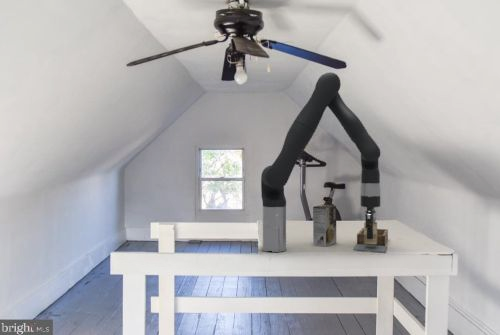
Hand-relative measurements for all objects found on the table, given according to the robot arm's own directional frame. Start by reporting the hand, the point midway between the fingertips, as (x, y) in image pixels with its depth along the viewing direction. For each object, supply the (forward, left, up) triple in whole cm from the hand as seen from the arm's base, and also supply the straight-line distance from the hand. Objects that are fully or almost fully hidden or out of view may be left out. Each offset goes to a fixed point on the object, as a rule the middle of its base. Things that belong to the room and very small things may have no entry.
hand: (370, 237), depth 170 cm
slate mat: (0, 0, -5) cm, 5 cm away
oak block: (0, 0, -2) cm, 2 cm away
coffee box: (+4, +19, -5) cm, 20 cm away
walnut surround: (+15, +1, -5) cm, 16 cm away
